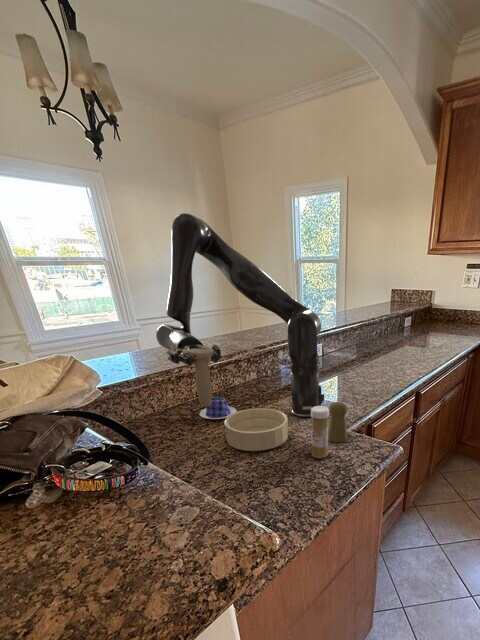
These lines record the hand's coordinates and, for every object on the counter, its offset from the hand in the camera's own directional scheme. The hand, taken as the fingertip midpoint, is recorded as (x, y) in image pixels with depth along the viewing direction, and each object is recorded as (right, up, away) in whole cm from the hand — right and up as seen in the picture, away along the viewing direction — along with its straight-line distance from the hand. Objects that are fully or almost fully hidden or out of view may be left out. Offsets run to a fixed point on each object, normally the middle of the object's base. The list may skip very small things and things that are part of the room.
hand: (203, 360), depth 90 cm
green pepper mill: (+35, -20, +14) cm, 43 cm away
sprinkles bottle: (+30, -25, +4) cm, 39 cm away
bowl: (+12, -20, +13) cm, 27 cm away
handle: (-2, -11, +7) cm, 13 cm away
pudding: (-5, -12, +29) cm, 32 cm away
